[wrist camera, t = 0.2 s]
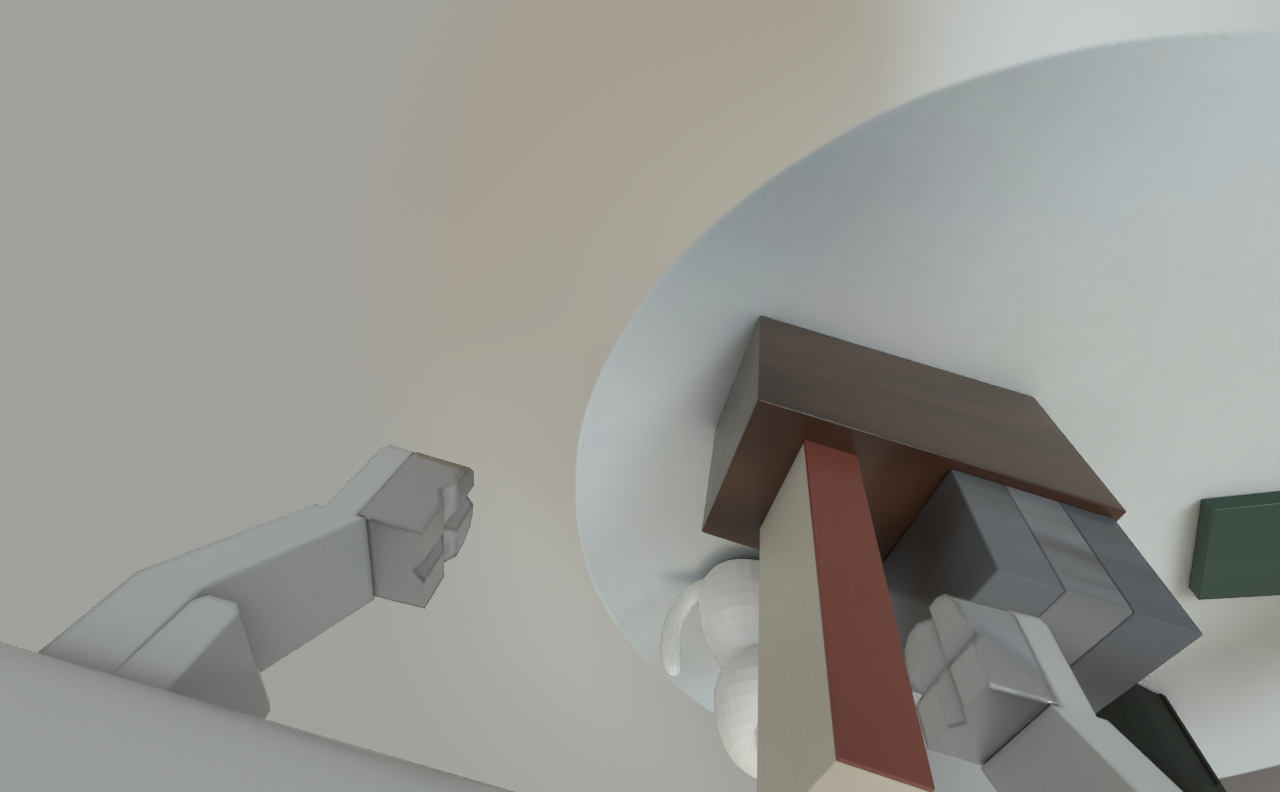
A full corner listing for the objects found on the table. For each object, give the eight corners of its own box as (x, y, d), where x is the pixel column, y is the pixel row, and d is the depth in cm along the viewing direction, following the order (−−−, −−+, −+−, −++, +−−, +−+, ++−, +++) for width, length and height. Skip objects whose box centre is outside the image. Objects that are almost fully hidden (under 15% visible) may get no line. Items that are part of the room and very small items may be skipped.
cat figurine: (826, 622, 46) (849, 833, 33) (679, 613, 49) (649, 804, 36) (827, 544, 42) (854, 753, 29) (666, 540, 45) (626, 727, 32)
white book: (804, 439, 26) (838, 757, 14) (856, 455, 25) (935, 790, 14) (759, 528, 29) (755, 847, 17) (805, 543, 29) (832, 873, 17)
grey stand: (759, 314, 33) (756, 482, 20) (1034, 397, 33) (1223, 628, 19) (715, 429, 38) (688, 627, 25) (953, 503, 38) (1058, 747, 24)
